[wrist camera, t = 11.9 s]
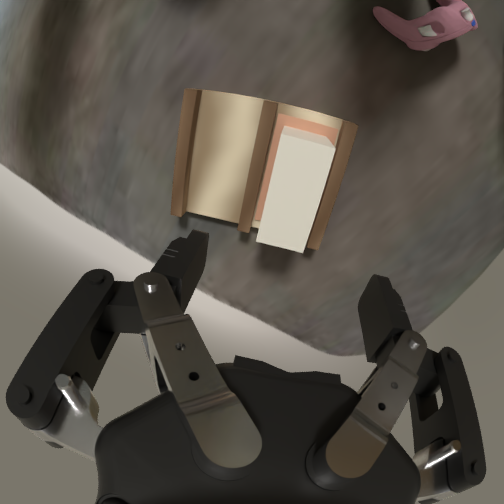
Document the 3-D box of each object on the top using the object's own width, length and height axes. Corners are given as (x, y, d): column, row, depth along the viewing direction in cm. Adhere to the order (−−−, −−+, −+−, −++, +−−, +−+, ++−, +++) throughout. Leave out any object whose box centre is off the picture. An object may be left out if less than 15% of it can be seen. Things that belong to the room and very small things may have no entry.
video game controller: (385, 44, 20) (428, 65, 15) (364, 8, 17) (409, 19, 12) (446, 15, 15) (492, 34, 11) (431, -19, 12) (479, -8, 8)
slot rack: (179, 205, 31) (170, 214, 29) (194, 88, 24) (184, 88, 22) (316, 238, 30) (317, 250, 28) (353, 122, 24) (358, 125, 21)
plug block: (284, 125, 24) (281, 133, 19) (326, 136, 24) (335, 148, 19) (263, 212, 29) (256, 241, 23) (302, 222, 28) (302, 252, 23)
